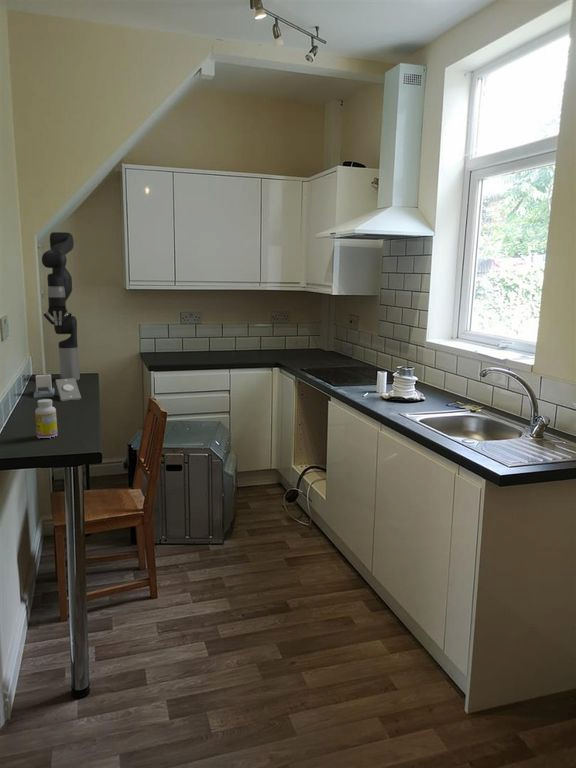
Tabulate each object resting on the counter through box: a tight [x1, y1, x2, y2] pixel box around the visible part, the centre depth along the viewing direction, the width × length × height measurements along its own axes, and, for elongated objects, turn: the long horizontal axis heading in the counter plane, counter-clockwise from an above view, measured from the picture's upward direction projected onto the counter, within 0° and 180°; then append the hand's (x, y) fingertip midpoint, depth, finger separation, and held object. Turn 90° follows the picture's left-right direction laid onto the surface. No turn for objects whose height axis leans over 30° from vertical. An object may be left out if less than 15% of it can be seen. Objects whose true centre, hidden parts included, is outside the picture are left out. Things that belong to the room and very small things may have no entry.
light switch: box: [55, 378, 82, 402], centre depth 267 cm, size 8×6×14 cm
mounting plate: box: [33, 387, 56, 399], centre depth 274 cm, size 14×8×2 cm, turn 18°
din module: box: [35, 373, 53, 392], centre depth 273 cm, size 5×6×7 cm
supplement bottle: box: [34, 398, 58, 439], centre depth 203 cm, size 7×7×13 cm
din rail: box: [38, 387, 49, 394], centre depth 274 cm, size 14×4×3 cm, turn 18°
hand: (59, 333), depth 281 cm, fingers closed
